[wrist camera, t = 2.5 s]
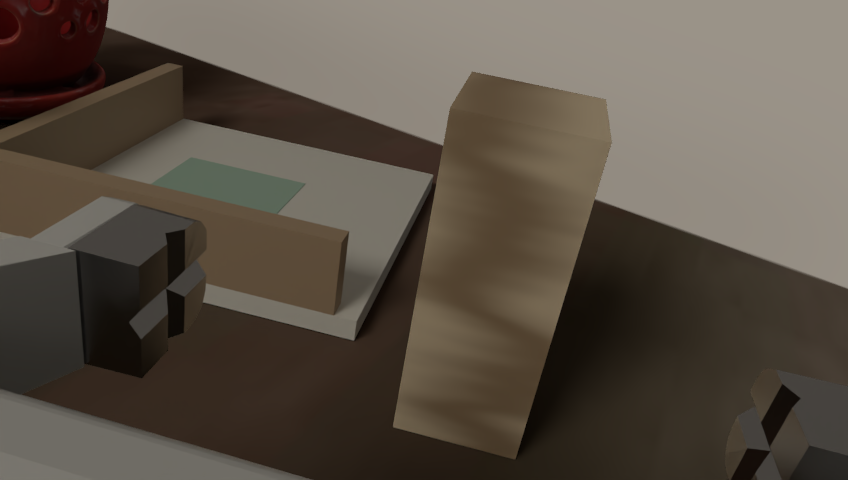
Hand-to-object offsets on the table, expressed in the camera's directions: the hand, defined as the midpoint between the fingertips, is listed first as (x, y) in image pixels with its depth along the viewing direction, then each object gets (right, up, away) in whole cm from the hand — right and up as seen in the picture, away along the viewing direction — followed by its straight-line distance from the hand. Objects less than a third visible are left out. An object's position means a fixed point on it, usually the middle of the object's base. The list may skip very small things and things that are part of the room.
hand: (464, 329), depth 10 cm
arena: (-11, +3, +27) cm, 29 cm away
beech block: (+1, -5, +16) cm, 17 cm away
